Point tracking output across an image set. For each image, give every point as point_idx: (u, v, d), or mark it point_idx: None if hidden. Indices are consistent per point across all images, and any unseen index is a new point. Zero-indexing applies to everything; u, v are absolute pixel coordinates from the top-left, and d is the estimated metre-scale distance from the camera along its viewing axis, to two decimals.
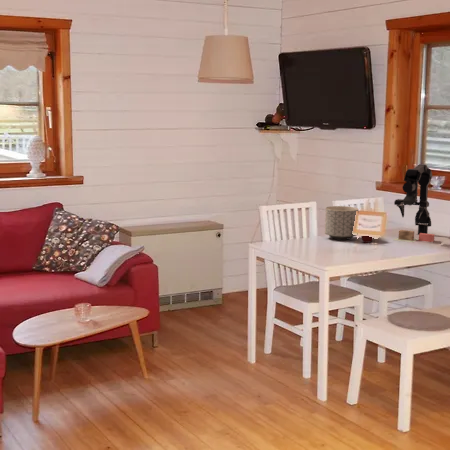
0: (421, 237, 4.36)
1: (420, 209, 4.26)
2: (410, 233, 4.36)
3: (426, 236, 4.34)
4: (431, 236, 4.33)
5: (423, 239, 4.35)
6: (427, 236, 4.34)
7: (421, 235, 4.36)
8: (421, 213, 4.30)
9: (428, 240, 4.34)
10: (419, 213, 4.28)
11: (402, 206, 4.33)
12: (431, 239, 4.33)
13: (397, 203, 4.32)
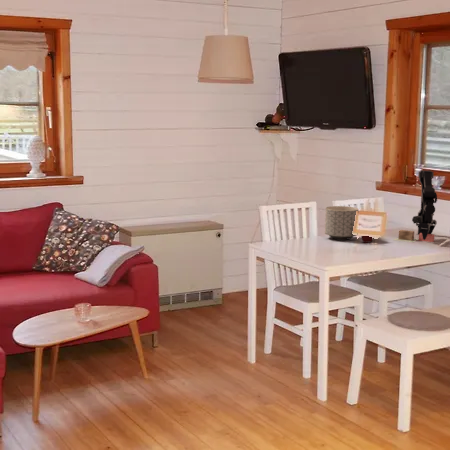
0: (421, 237, 4.36)
1: None
2: (410, 233, 4.36)
3: None
4: (431, 236, 4.33)
5: None
6: (427, 236, 4.34)
7: (421, 235, 4.36)
8: (426, 235, 4.31)
9: (428, 240, 4.34)
10: (422, 234, 4.32)
11: None
12: (431, 239, 4.33)
13: None
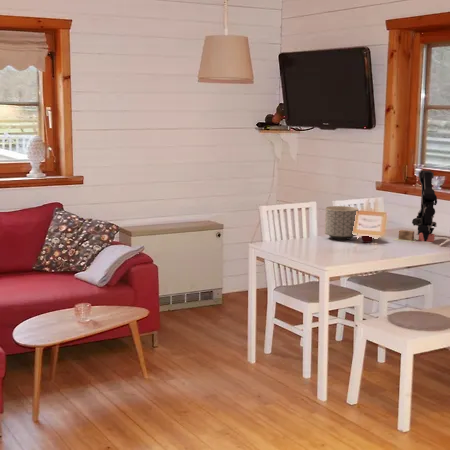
0: (421, 237, 4.36)
1: None
2: (410, 233, 4.36)
3: None
4: (431, 236, 4.33)
5: (423, 239, 4.35)
6: None
7: (421, 235, 4.36)
8: (427, 236, 4.33)
9: (428, 240, 4.34)
10: (423, 235, 4.34)
11: None
12: (431, 239, 4.33)
13: None
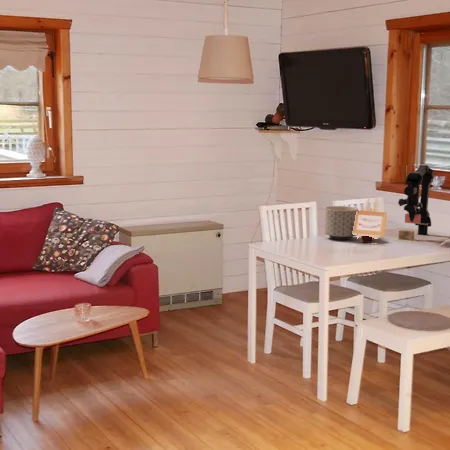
0: (407, 217, 4.36)
1: None
2: (410, 233, 4.36)
3: None
4: (417, 216, 4.33)
5: (409, 219, 4.35)
6: None
7: (407, 215, 4.36)
8: (413, 216, 4.33)
9: (414, 220, 4.34)
10: None
11: None
12: (417, 219, 4.33)
13: None
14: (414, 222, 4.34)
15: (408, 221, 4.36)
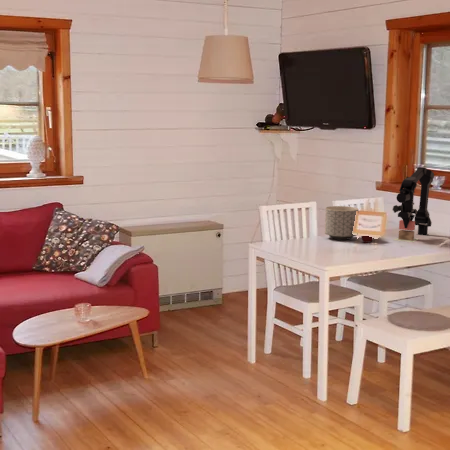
0: (401, 224, 4.38)
1: None
2: (410, 233, 4.36)
3: None
4: (411, 223, 4.34)
5: (403, 226, 4.37)
6: None
7: (401, 222, 4.37)
8: (407, 223, 4.34)
9: (408, 227, 4.36)
10: (403, 222, 4.36)
11: None
12: (411, 226, 4.35)
13: None
14: (408, 229, 4.36)
15: (402, 228, 4.38)
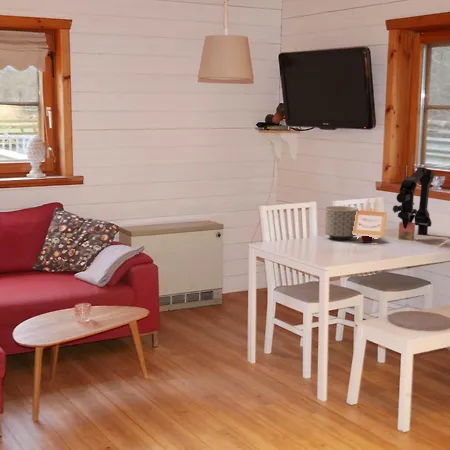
0: (401, 225, 4.38)
1: None
2: (410, 233, 4.36)
3: None
4: (411, 224, 4.34)
5: (403, 227, 4.37)
6: None
7: (401, 223, 4.38)
8: (406, 223, 4.33)
9: (408, 228, 4.36)
10: (403, 222, 4.35)
11: None
12: (411, 227, 4.35)
13: None
14: (408, 230, 4.36)
15: (402, 229, 4.38)
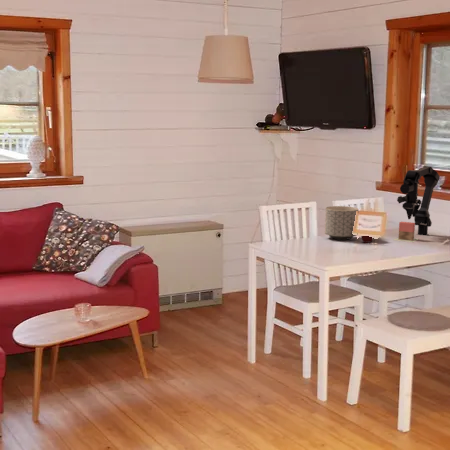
0: (401, 225, 4.38)
1: None
2: (410, 233, 4.36)
3: (406, 224, 4.36)
4: (411, 224, 4.34)
5: (403, 227, 4.37)
6: (407, 224, 4.36)
7: (401, 223, 4.38)
8: (410, 214, 4.38)
9: (408, 228, 4.36)
10: (407, 213, 4.40)
11: None
12: (411, 227, 4.35)
13: None
14: (408, 230, 4.36)
15: (402, 229, 4.38)
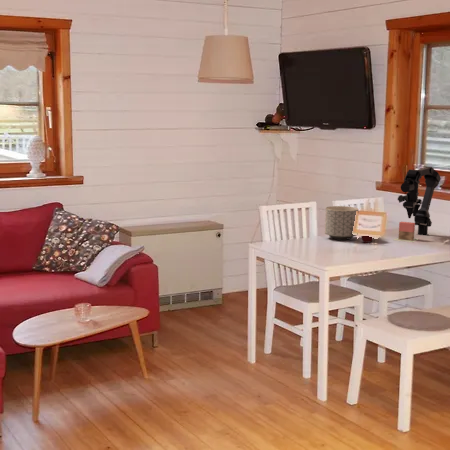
0: (401, 225, 4.38)
1: None
2: (410, 233, 4.36)
3: (406, 224, 4.36)
4: (411, 224, 4.34)
5: (403, 227, 4.37)
6: (407, 224, 4.36)
7: (401, 223, 4.38)
8: (411, 213, 4.39)
9: (408, 228, 4.36)
10: None
11: None
12: (411, 227, 4.35)
13: None
14: (408, 230, 4.36)
15: (402, 229, 4.38)
